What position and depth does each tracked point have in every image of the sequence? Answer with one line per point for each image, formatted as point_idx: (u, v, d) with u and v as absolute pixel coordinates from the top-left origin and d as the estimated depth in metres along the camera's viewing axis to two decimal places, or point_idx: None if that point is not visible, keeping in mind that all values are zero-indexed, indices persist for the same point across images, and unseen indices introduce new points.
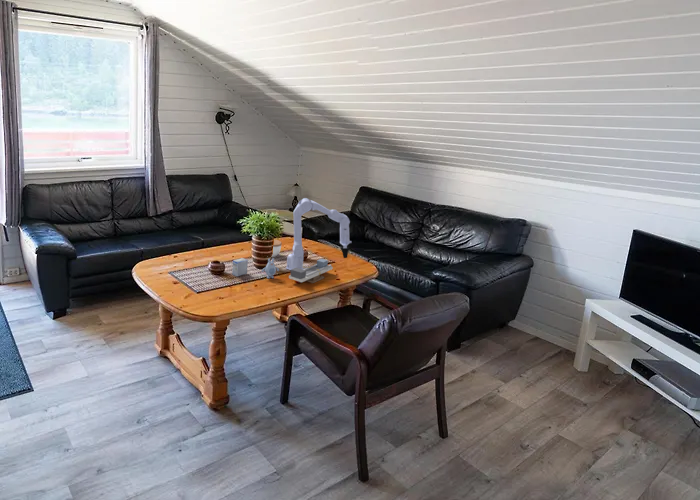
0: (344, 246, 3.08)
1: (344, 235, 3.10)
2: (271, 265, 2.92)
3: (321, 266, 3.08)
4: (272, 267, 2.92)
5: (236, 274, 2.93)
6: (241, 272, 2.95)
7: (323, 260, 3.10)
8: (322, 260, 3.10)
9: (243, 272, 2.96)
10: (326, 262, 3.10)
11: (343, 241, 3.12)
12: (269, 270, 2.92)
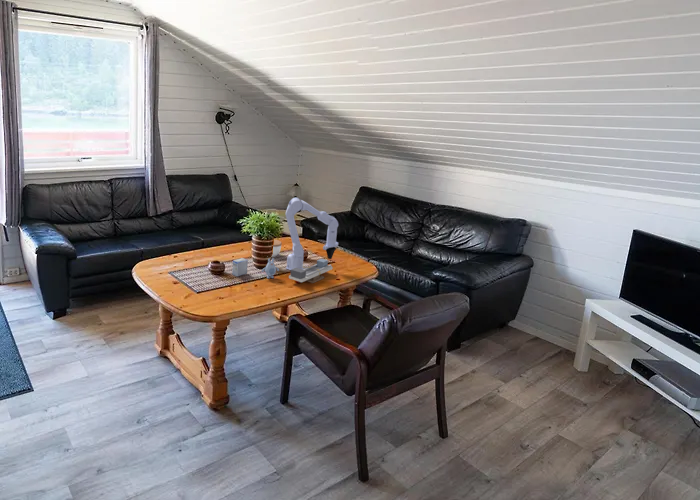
0: (323, 247, 3.08)
1: (331, 238, 3.10)
2: (271, 265, 2.92)
3: (321, 266, 3.08)
4: (272, 267, 2.92)
5: (236, 274, 2.93)
6: (241, 272, 2.95)
7: (323, 260, 3.10)
8: (322, 260, 3.10)
9: (243, 272, 2.96)
10: (326, 262, 3.10)
11: (327, 243, 3.12)
12: (269, 270, 2.92)
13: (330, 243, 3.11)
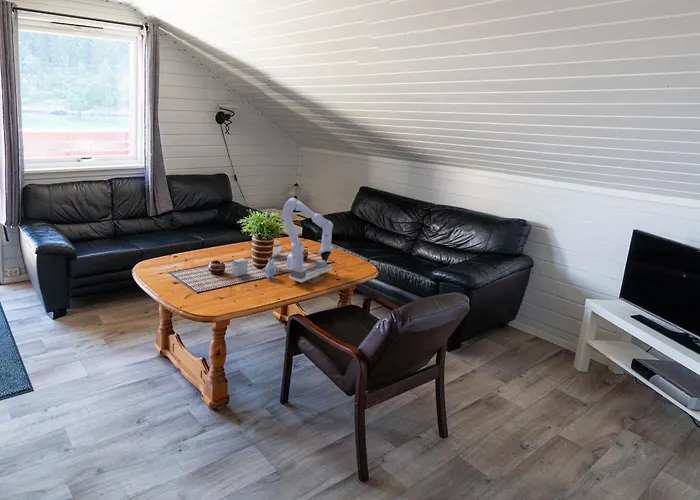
0: (318, 251, 3.04)
1: (325, 241, 3.06)
2: (271, 265, 2.92)
3: (320, 267, 3.07)
4: (272, 267, 2.92)
5: (236, 274, 2.93)
6: (241, 272, 2.95)
7: (322, 260, 3.09)
8: (320, 260, 3.09)
9: (243, 272, 2.96)
10: (325, 262, 3.09)
11: (322, 247, 3.07)
12: (269, 270, 2.92)
13: (325, 247, 3.07)
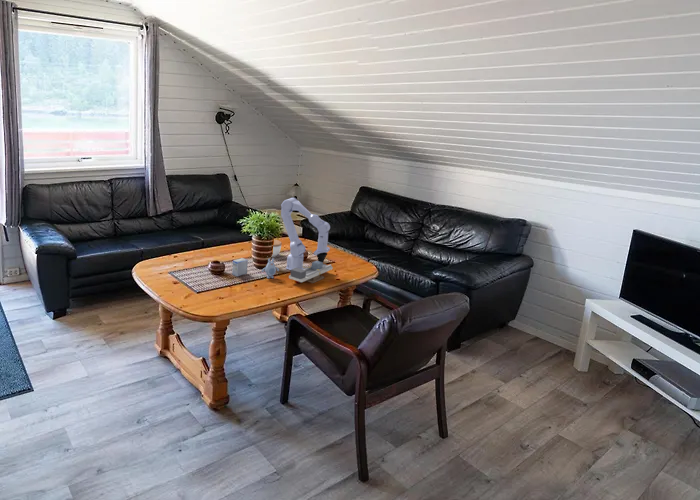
0: (314, 253, 3.00)
1: (320, 242, 3.02)
2: (271, 265, 2.92)
3: (316, 268, 3.03)
4: (272, 267, 2.92)
5: (236, 274, 2.93)
6: (241, 272, 2.95)
7: (318, 262, 3.05)
8: (317, 262, 3.05)
9: (243, 272, 2.96)
10: (321, 264, 3.05)
11: (318, 248, 3.04)
12: (269, 270, 2.92)
13: (321, 248, 3.03)
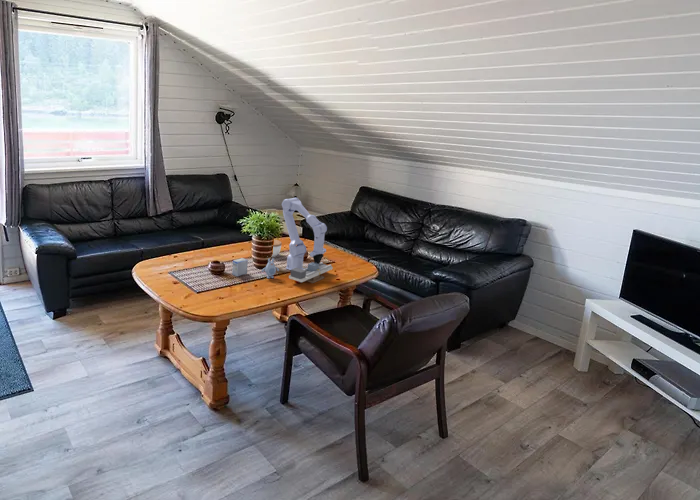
0: (310, 254, 2.97)
1: (315, 243, 2.99)
2: (271, 265, 2.92)
3: (312, 270, 3.00)
4: (272, 267, 2.92)
5: (236, 274, 2.93)
6: (241, 272, 2.95)
7: (314, 264, 3.02)
8: (313, 263, 3.02)
9: (243, 272, 2.96)
10: (317, 266, 3.02)
11: (314, 250, 3.01)
12: (269, 270, 2.92)
13: (317, 250, 3.00)
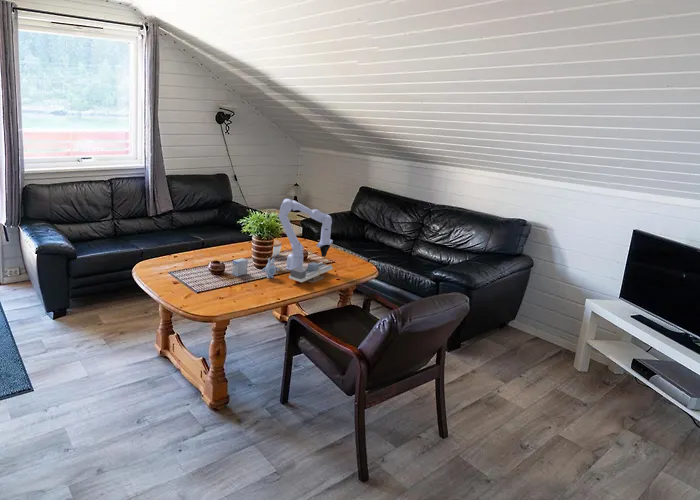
0: (317, 245, 3.05)
1: (324, 235, 3.07)
2: (271, 265, 2.92)
3: (312, 270, 3.00)
4: (272, 267, 2.92)
5: (236, 274, 2.93)
6: (241, 272, 2.95)
7: (314, 264, 3.02)
8: (313, 263, 3.02)
9: (243, 272, 2.96)
10: (317, 266, 3.02)
11: (321, 240, 3.09)
12: (269, 270, 2.92)
13: (324, 241, 3.08)
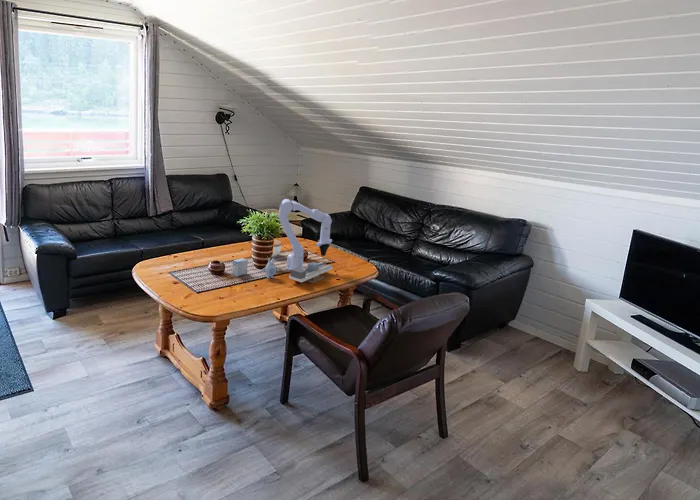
0: (317, 244, 3.06)
1: (324, 234, 3.08)
2: (271, 265, 2.92)
3: (312, 270, 3.00)
4: (272, 267, 2.92)
5: (236, 274, 2.93)
6: (241, 272, 2.95)
7: (314, 264, 3.02)
8: (313, 263, 3.02)
9: (243, 272, 2.96)
10: (317, 266, 3.02)
11: (321, 240, 3.10)
12: (269, 270, 2.92)
13: (323, 240, 3.09)
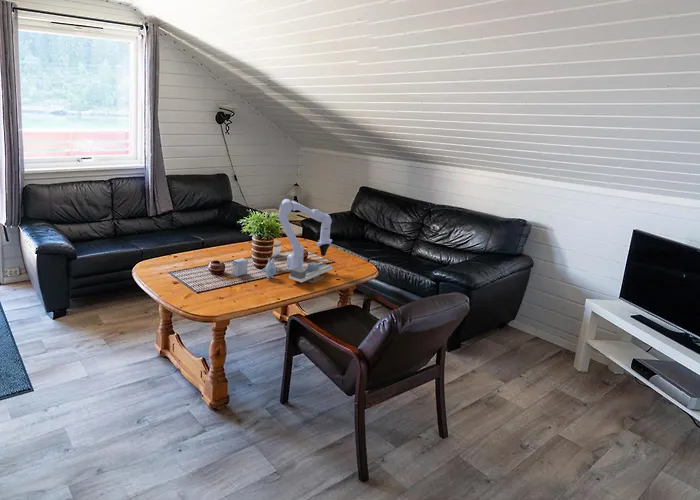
0: (317, 244, 3.06)
1: (324, 234, 3.08)
2: (271, 265, 2.92)
3: (312, 270, 3.00)
4: (272, 267, 2.92)
5: (236, 274, 2.93)
6: (241, 272, 2.95)
7: (314, 264, 3.02)
8: (313, 263, 3.02)
9: (243, 272, 2.96)
10: (317, 266, 3.02)
11: (321, 240, 3.10)
12: (269, 270, 2.92)
13: (323, 240, 3.09)
